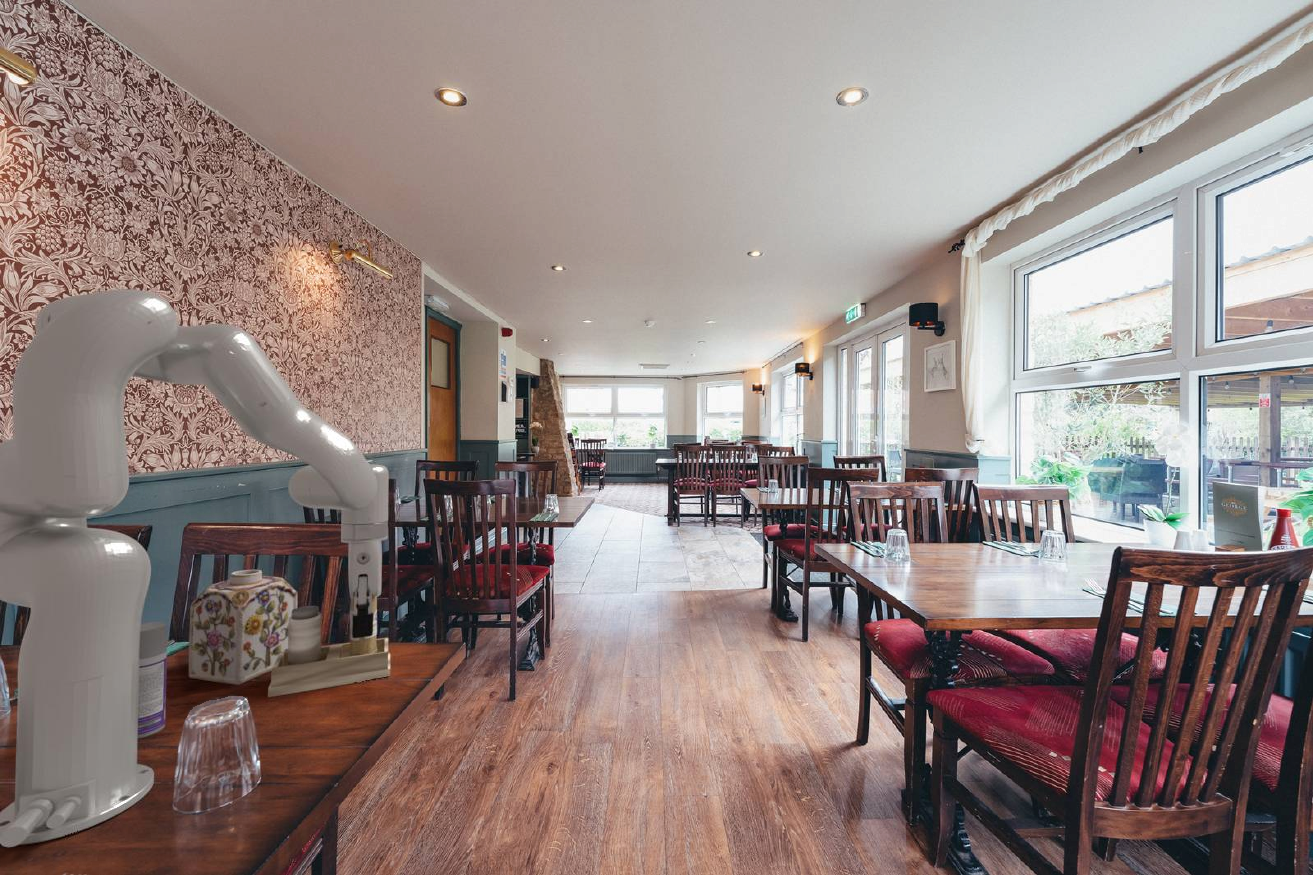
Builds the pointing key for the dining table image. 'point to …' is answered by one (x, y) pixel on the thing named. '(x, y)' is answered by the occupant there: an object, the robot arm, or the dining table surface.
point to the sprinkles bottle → (364, 643)
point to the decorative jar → (239, 627)
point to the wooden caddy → (321, 659)
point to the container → (152, 678)
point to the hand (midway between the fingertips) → (363, 631)
